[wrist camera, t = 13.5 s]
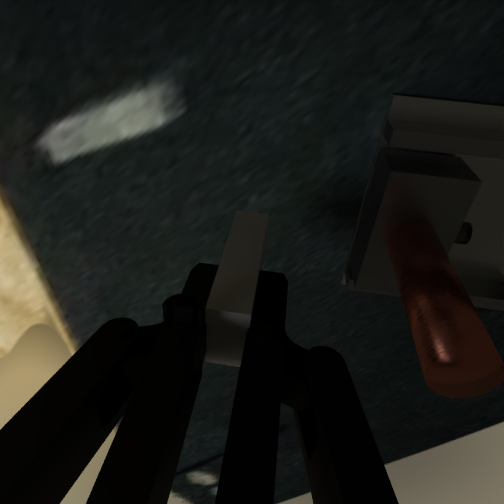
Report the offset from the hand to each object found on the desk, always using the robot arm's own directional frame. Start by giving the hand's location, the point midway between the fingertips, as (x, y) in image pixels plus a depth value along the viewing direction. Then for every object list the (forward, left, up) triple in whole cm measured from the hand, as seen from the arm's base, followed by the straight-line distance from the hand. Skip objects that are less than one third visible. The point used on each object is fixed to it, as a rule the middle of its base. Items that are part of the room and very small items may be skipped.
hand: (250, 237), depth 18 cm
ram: (0, +8, -4) cm, 10 cm away
